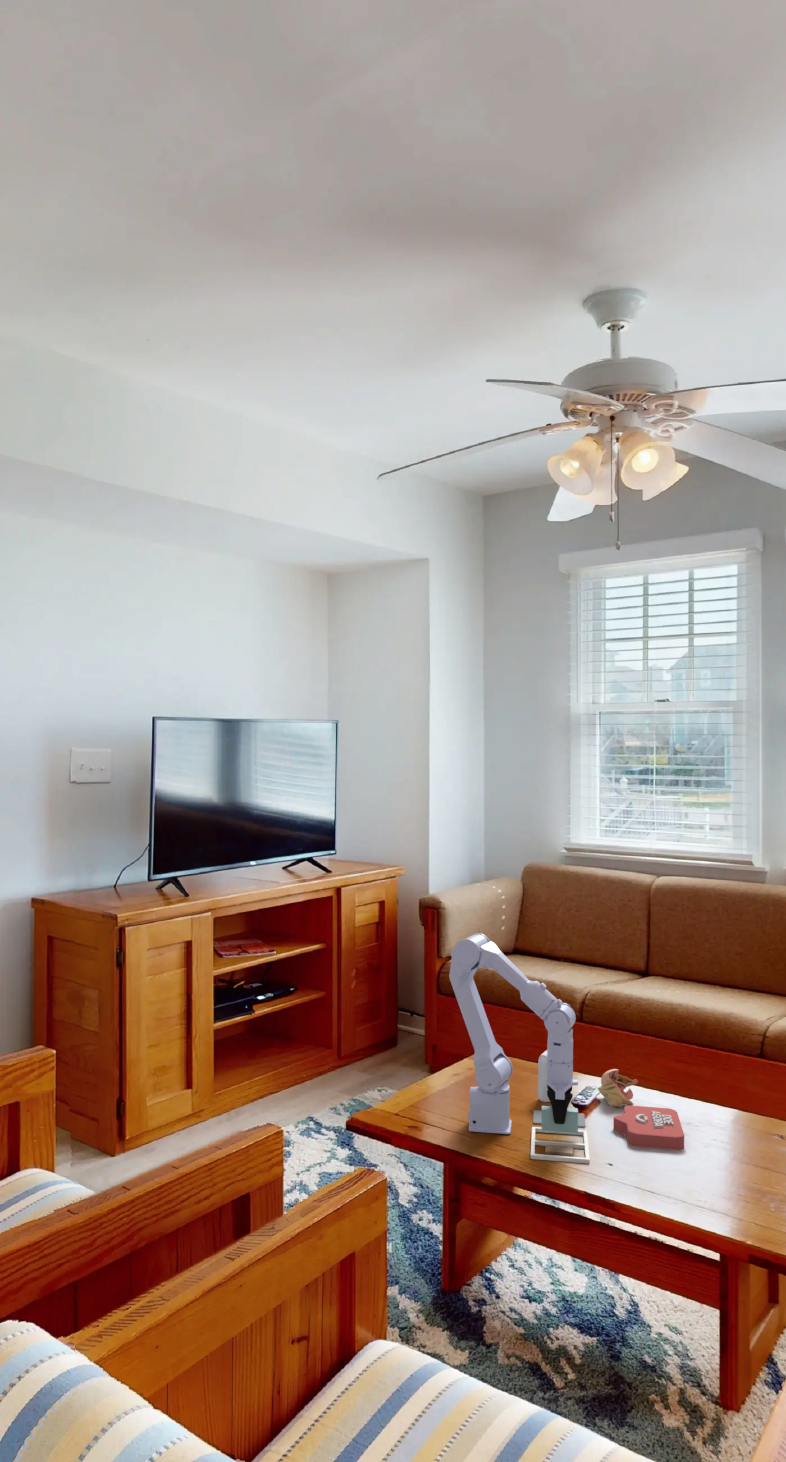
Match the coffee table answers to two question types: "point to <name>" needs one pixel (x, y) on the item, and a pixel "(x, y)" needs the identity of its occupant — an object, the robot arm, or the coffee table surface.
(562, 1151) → the offcut stack
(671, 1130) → the plaque
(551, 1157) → the rack
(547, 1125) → the pale teal block
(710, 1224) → the coffee table surface
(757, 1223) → the coffee table surface
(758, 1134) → the coffee table surface
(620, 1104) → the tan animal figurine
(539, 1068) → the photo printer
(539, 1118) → the mat
